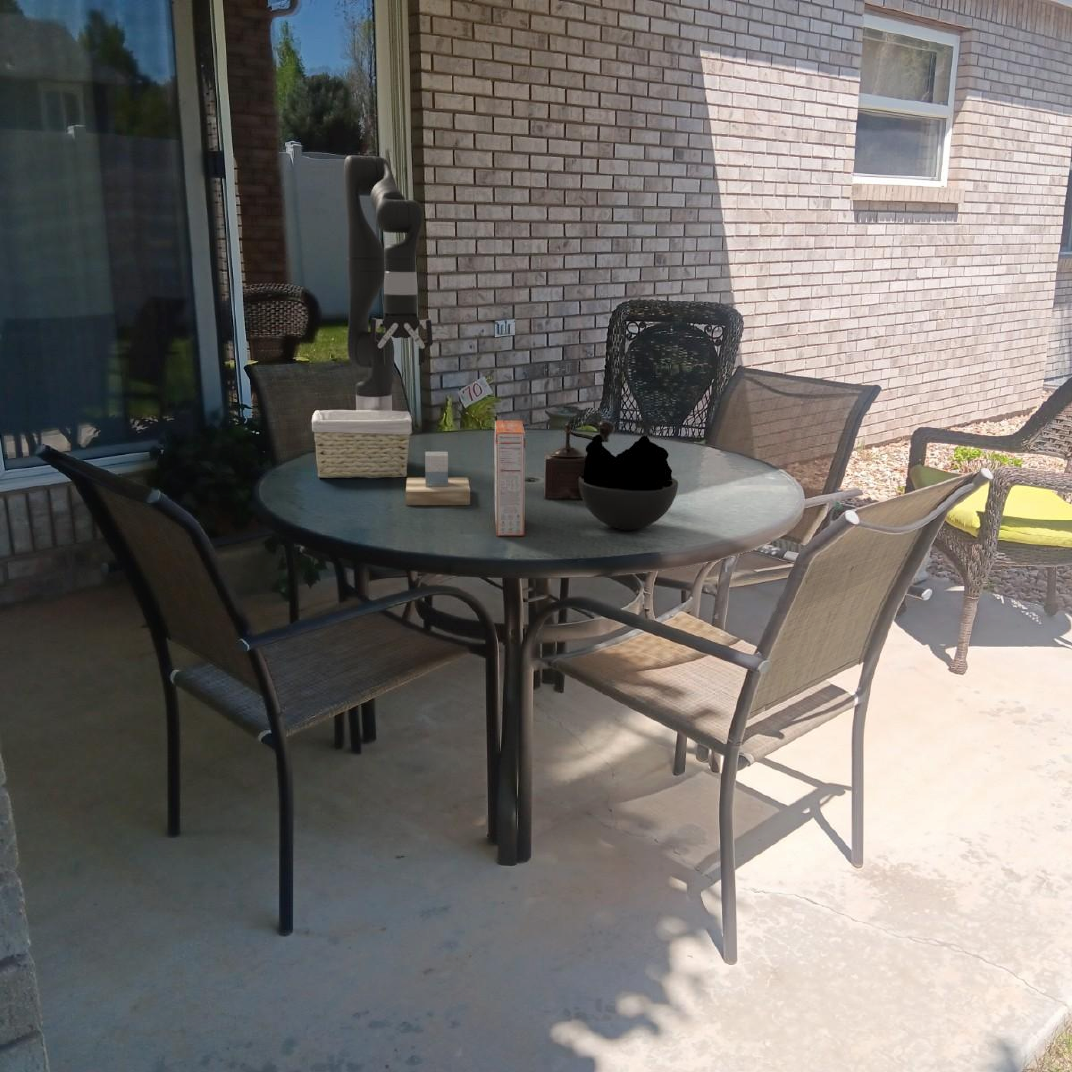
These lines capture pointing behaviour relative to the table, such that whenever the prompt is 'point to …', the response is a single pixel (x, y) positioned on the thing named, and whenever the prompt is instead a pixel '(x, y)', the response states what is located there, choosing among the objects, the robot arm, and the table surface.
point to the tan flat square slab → (438, 492)
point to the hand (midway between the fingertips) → (401, 364)
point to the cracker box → (509, 477)
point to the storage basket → (361, 443)
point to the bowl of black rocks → (627, 484)
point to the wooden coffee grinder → (568, 465)
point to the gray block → (436, 469)
